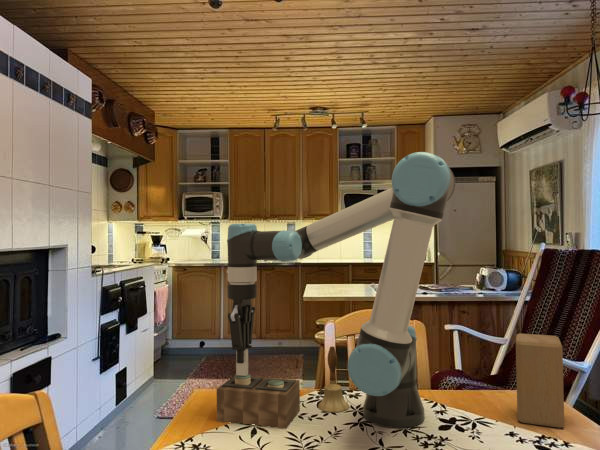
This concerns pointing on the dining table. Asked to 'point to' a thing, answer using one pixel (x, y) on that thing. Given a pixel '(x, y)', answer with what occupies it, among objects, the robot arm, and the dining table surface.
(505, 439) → the dining table surface
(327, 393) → the hand bell
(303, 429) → the dining table surface
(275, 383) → the peg
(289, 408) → the socket block
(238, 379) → the peg
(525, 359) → the block
